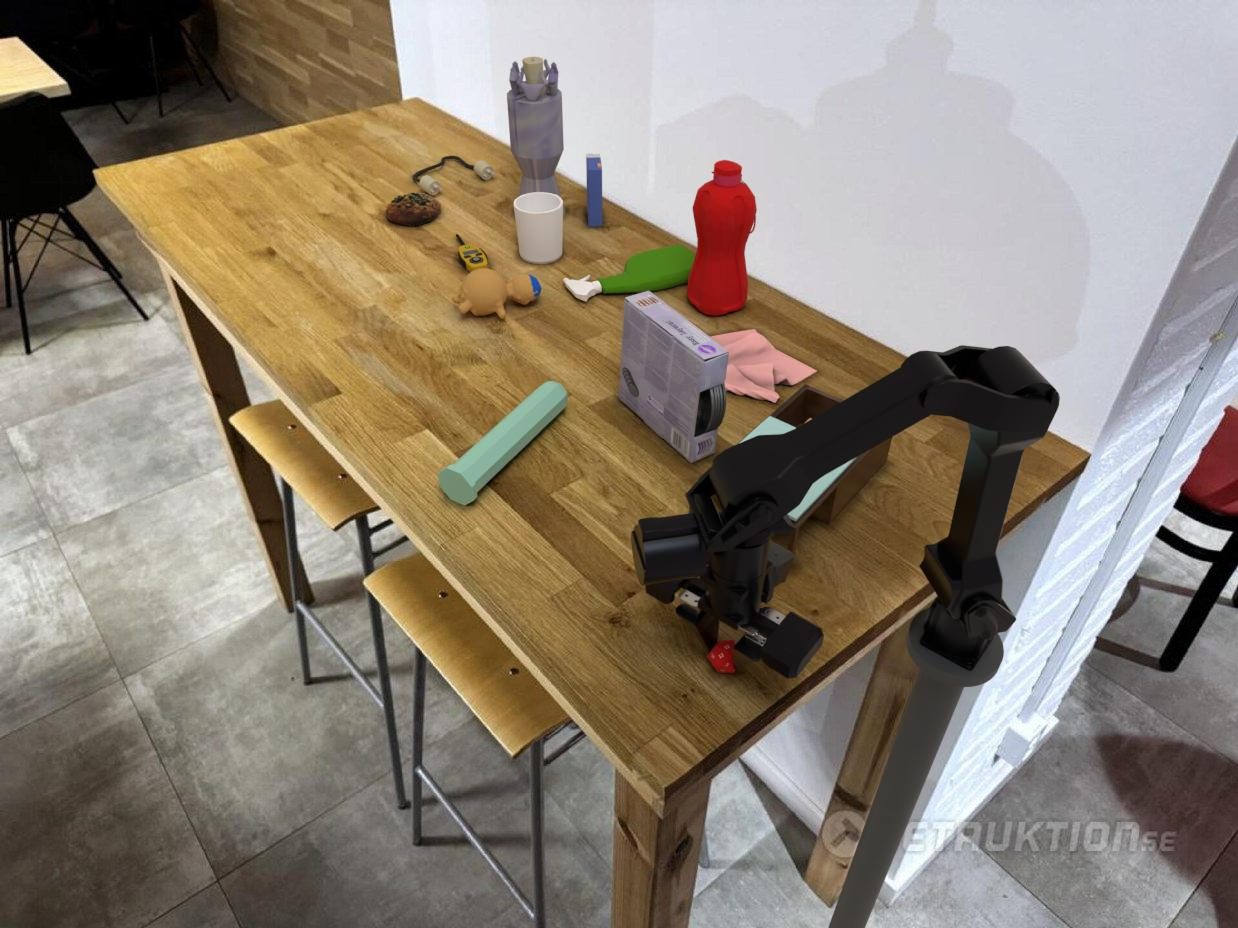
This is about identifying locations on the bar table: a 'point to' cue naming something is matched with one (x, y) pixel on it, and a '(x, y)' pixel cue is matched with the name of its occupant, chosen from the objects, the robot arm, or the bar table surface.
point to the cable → (430, 183)
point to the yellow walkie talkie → (471, 256)
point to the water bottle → (721, 241)
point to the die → (722, 656)
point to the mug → (539, 227)
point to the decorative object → (536, 124)
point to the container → (502, 443)
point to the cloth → (758, 365)
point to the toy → (494, 292)
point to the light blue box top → (818, 487)
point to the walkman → (594, 189)
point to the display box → (851, 480)
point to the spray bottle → (641, 274)
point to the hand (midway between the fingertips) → (725, 659)
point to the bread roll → (413, 209)
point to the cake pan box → (672, 375)
